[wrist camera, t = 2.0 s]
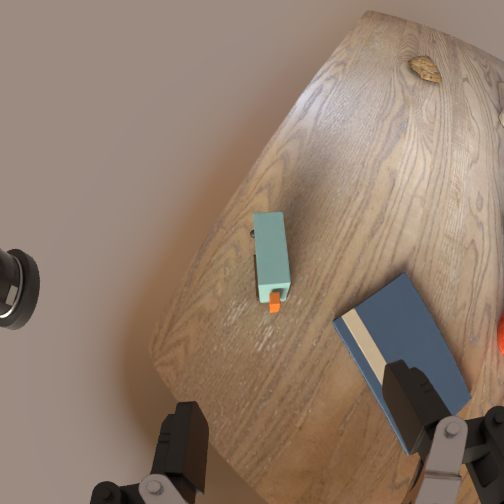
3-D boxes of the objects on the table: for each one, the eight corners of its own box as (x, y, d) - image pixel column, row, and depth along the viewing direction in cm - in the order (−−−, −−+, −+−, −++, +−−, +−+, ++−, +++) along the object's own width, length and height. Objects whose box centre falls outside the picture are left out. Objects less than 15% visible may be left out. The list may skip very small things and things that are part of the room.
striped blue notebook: (469, 397, 22) (472, 397, 22) (406, 454, 21) (409, 456, 20) (403, 273, 28) (405, 271, 28) (331, 322, 27) (332, 321, 26)
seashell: (409, 68, 40) (412, 44, 40) (403, 82, 46) (407, 58, 45) (445, 85, 39) (447, 60, 38) (436, 97, 44) (439, 73, 44)
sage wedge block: (288, 315, 27) (296, 299, 20) (257, 318, 28) (253, 303, 20) (282, 246, 30) (286, 210, 23) (252, 249, 30) (248, 213, 23)
